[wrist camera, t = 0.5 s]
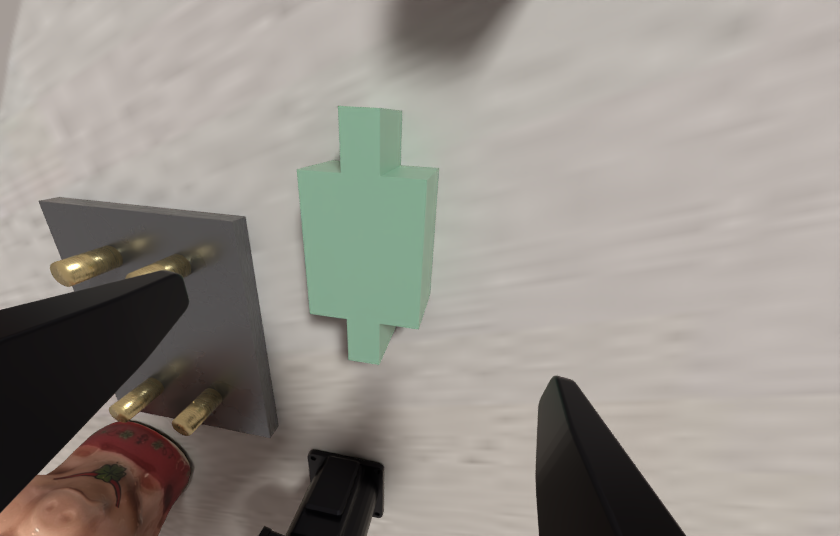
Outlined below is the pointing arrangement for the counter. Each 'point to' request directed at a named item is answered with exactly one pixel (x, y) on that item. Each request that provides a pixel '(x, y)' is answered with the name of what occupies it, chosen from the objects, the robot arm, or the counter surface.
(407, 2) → the counter surface
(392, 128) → the mint green pegged block
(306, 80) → the counter surface
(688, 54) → the counter surface
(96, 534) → the sculpted terracotta mug
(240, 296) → the plate
